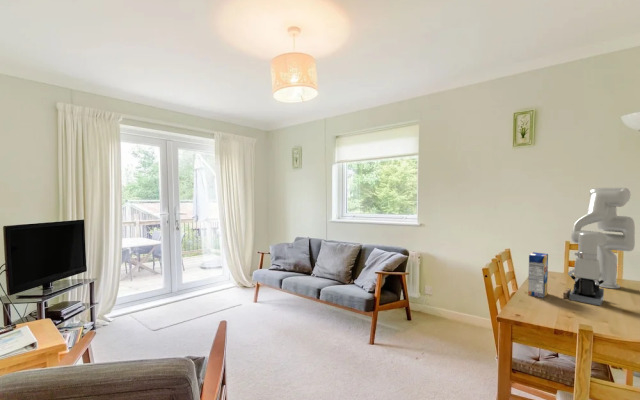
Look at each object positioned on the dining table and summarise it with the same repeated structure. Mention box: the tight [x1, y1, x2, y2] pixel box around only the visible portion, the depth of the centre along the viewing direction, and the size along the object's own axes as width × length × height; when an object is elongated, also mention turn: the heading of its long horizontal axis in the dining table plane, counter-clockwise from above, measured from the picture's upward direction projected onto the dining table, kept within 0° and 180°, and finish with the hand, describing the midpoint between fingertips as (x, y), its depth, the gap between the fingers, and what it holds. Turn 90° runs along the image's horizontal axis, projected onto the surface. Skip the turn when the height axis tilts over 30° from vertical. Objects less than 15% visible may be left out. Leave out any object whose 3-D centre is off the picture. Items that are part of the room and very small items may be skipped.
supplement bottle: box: [578, 278, 596, 298], centre depth 163 cm, size 7×7×12 cm
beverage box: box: [527, 251, 549, 299], centre depth 172 cm, size 7×11×22 cm, turn 135°
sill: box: [562, 288, 572, 300], centre depth 169 cm, size 12×1×3 cm, turn 132°
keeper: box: [568, 283, 605, 307], centre depth 163 cm, size 12×12×6 cm
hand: (586, 290), depth 163 cm, fingers closed on supplement bottle, 6 cm apart
